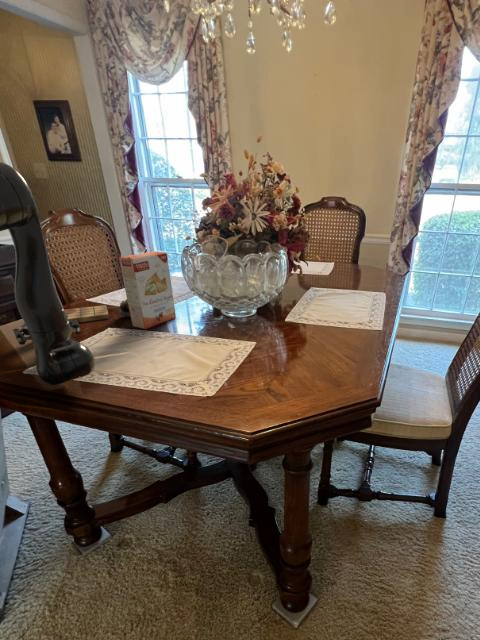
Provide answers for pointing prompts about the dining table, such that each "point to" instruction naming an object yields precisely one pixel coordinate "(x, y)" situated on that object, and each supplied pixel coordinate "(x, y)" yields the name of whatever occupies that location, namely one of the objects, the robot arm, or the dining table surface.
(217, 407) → the dining table surface
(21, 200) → the robot arm
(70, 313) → the grid board
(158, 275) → the cracker box
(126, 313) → the bison figurine
